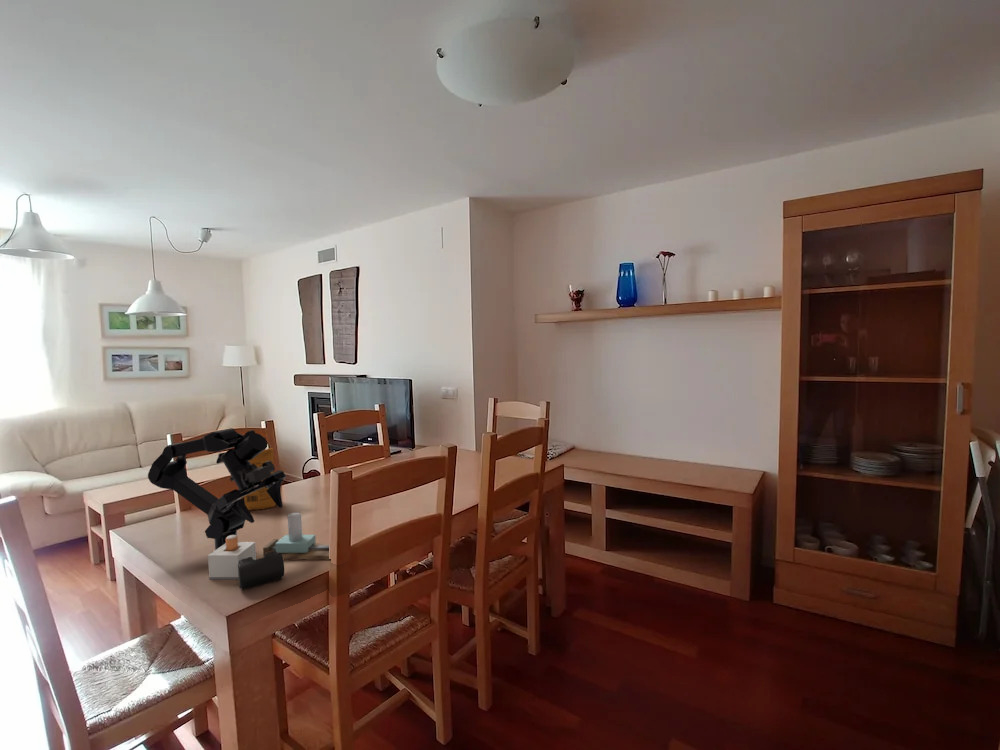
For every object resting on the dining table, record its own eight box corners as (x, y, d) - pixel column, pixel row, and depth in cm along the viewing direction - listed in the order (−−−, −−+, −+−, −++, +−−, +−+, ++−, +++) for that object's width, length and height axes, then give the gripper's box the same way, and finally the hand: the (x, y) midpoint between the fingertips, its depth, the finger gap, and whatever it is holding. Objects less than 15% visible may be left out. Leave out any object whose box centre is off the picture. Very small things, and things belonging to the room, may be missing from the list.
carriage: (275, 552, 132) (273, 518, 131) (286, 543, 138) (284, 511, 137) (306, 552, 132) (304, 518, 131) (315, 543, 138) (314, 511, 137)
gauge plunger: (223, 551, 123) (223, 538, 123) (230, 546, 126) (229, 534, 125) (234, 551, 123) (233, 538, 122) (240, 546, 126) (239, 534, 125)
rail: (261, 559, 131) (261, 549, 131) (276, 547, 139) (275, 537, 139) (335, 559, 131) (335, 549, 130) (346, 547, 139) (345, 537, 138)
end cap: (241, 595, 113) (239, 569, 112) (237, 583, 118) (236, 558, 118) (285, 582, 119) (284, 557, 118) (280, 572, 124) (278, 547, 124)
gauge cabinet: (209, 579, 121) (207, 555, 120) (228, 564, 129) (227, 542, 128) (239, 579, 120) (237, 555, 120) (256, 564, 128) (255, 541, 128)
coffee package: (243, 504, 178) (240, 448, 177) (278, 500, 182) (275, 445, 181) (238, 513, 169) (234, 454, 167) (275, 508, 173) (272, 450, 172)
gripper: (221, 467, 120) (251, 519, 119) (281, 444, 137) (308, 489, 136) (203, 485, 125) (232, 535, 124) (263, 461, 142) (289, 504, 141)
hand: (267, 514), depth 131 cm, fingers open, 9 cm apart
